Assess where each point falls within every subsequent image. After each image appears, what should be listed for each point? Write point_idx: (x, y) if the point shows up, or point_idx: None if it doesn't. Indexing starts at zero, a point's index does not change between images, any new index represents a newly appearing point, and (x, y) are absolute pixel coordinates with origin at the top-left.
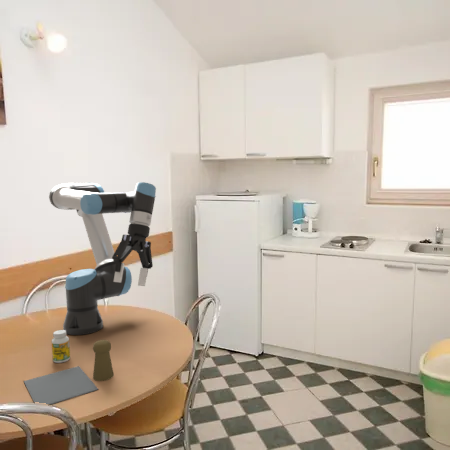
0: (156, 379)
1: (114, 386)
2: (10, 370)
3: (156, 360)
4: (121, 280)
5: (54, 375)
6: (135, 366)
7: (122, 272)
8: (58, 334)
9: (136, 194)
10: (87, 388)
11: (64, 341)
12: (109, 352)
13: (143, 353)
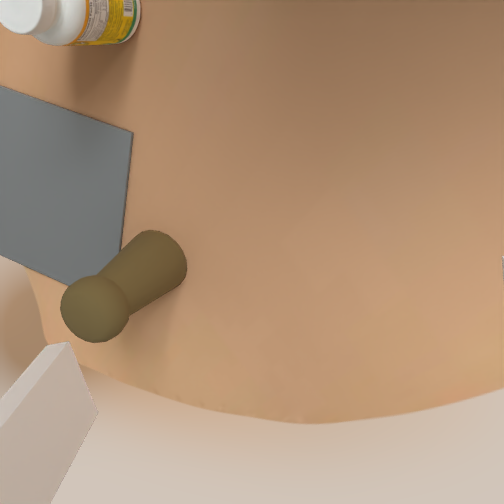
0: (246, 402)
1: (151, 328)
2: None
3: (339, 335)
4: (88, 428)
5: (52, 128)
6: (261, 301)
7: (44, 498)
8: (5, 25)
9: None
10: None
11: (54, 44)
12: (131, 312)
13: (358, 254)
